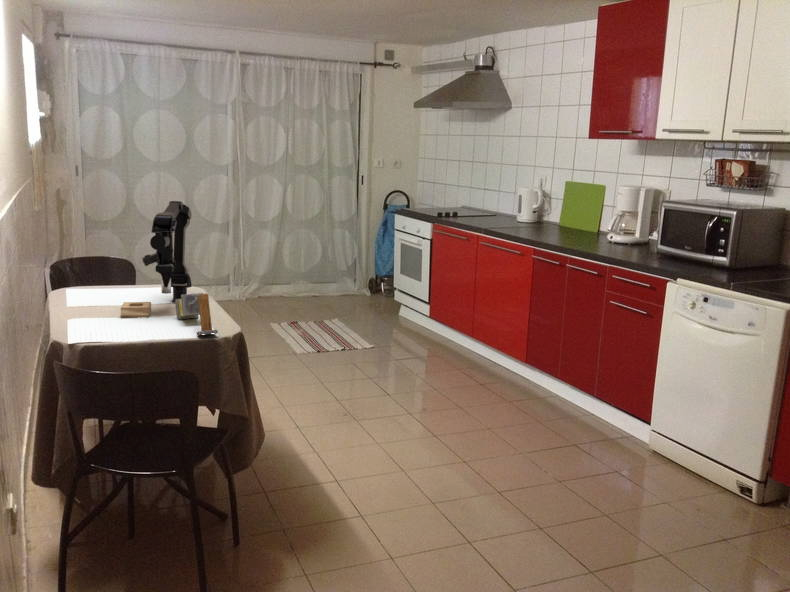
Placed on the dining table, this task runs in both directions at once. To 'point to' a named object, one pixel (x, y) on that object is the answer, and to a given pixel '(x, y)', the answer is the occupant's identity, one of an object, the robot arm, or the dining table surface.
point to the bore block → (135, 309)
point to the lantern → (195, 310)
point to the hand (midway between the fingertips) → (166, 286)
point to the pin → (165, 289)
